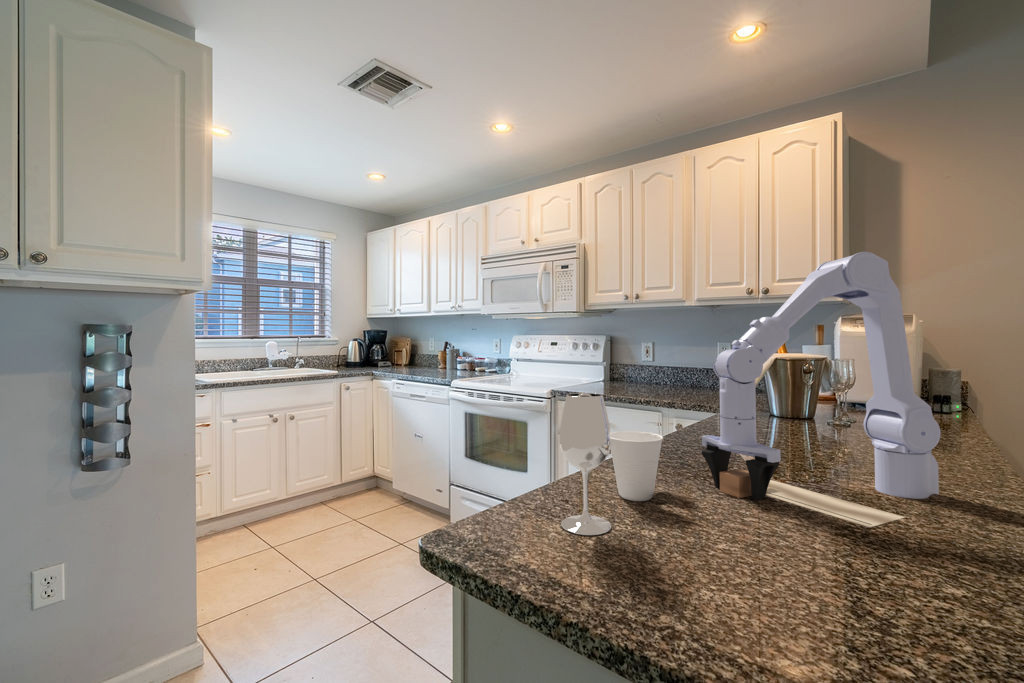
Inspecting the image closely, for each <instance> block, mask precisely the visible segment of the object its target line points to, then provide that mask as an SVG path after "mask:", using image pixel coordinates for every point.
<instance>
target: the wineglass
mask: <svg viewBox="0 0 1024 683" xmlns="http://www.w3.org/2000/svg"><path fill="white" fill-rule="evenodd" d="M611 433H612V432H611V427H610V423H609V417H608V411H607V406H606V404H605V400H604V396H603V394H601V393H591V392H575V393H574V392H573V393H567V394H566V397H565V401H564V405H563V411H562V417H561V421H560V427H559V439H558V440H559V448H560V451H561V454H562V455H563V457H564V458H565V460H566V461H567V462H568V463H569V464H570V465H571V466H573V467H574V468H576V469H579V470H580V472H581V474H582V485H583V487H582V488H583V491H582V493H583V494H582V496H583V510H582V514H578V515H577V514H576V515H571V516H568V517H566V518H564V519H563V520H562V521H561V523H560V525H561V528H563V529H564V530H565V531H567V532H569V533H571V534H575V535H581V536H598V535H603V534H606V533H607V532H610V531H611V529H612V524H611V522H610V521H608V520H607V519H606V518H603V517H600V516H596V515H591V514H590V511H589V476H590V471H591V470H593V469H594V470H595V469H596V468H597V467H600V466H601V464H603V463H604V462H605V461H606V459H607V458H608V456H609V455H610V453H611Z"/></svg>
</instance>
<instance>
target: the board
mask: <svg viewBox="0 0 1024 683" xmlns="http://www.w3.org/2000/svg"><path fill="white" fill-rule="evenodd" d="M765 496H768V497H771V498H773V499H777V500H781V501H784V502H786V503H790V504H793V505H796V506H799V507H803V508H806V509H809V510H811V511H815V512H818V513H821V514H825V515H829V516H831V517H835V518H838V519H840V520H844V521H847V522H850V523H853V524H856V525H860V526H864V527H867V528H872V527H878V526H880V525H885V524H888V523H891V522H894V521H897V520H901V519H905V518H906V516H903V515H900V514H896V513H891V512H888V511H885V510H882V509H878V508H874V507H871V506H867V505H863V504H859V503H855V502H852V501H850V500H849V501H848V500H845V499H841V498H837V497H834V496H831V495H827V494H823V493H819V492H817V491H816V492H815V491H813V490H809V489H805V488H802V487H798V486H794V485H792V484H787V483H784V482H780V481H777V480H772V479H771V480H770V482H769V485H768V488H767V492H766V495H765Z"/></svg>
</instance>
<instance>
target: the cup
mask: <svg viewBox="0 0 1024 683" xmlns="http://www.w3.org/2000/svg"><path fill="white" fill-rule="evenodd" d="M610 433H611V449H610V453H611V457H612V462H613V463H612V465H613V469H614V474H615V480H616V487H617V492H618V495H619V496H620V497H621V498H622V499H625V500H627V501H632V502H646V501H649V500H651V499H652V498H653V497H654V493H655V488H656V487H655V486H656V481H657V480H656V478H657V472H658V466H659V461H660V460H659V459H660V455H661V448H662V442H663V440H664V437H663V435H661V434H658V433H654V432H649V431H648V432H647V431H636V430H627V431H626V430H625V431H623V430H622V431H614V432H610Z"/></svg>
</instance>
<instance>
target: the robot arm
mask: <svg viewBox="0 0 1024 683" xmlns="http://www.w3.org/2000/svg"><path fill="white" fill-rule="evenodd" d="M900 293H901V292H900V290H899V289H898V287H897V285H896V284H895V282H894V280H893V279H892V277H891V274H890V269H889V261H888V260H886V259H884V258H882V257H881V256H879V255H876V254H875V253H873V252H870V251H861V252H857V253H855V254H853V255H849V256H846V257H842V258H839V259H835V260H829V261H825V262H823V263H821V264H819V265H818V266H817V267H816V268H815V270H813V271H812V272H810V273H809V274H808V275H807V277H806V278H805V280H803V281H802V283H801V284H800V285H799V287H797V289H796V290H795V291H794V292H793V293H792V294H791V295H790V297H789V298H788V299H787V300H786V301H784V303H783V304H782V305H781V306H780V308H779V309H778V310H777V311H775V313H774V314H773V315H772V316H763V317H760V318H759V319H753V320H752V321H751V322H750V323H749V326H750V328H749V329H748V330H747V331H746V332H744V334H743V335H742V336H741V337H740V338H739V339H734V340H733V341H732V342H731V343H730V344H731V348H730V349H726V350H725V349H724V350H723V351H722V352H720V353H719V354H718V355H717V357H716V359H715V360H716V361H715V363H714V364H713V365H712V367H713V369H712V370H713V371H714V373H715V375H716V376H717V377H718V379H719V430H720V431H719V434H720V436H716V435H713V434H712V435H710V434H706V435H705V434H704V435H701V446H702V447H706V448H705V449H702V450H701V455H702V456H703V458H704V460H705V461H706V463H707V465H708V468H709V470H710V472H711V476H712V477H711V478H712V480H713V483H714V487H715V488H717V489H720V472H722V471H729V463H730V458H731V454H732V453H736V454H740V455H742V456H743V455H744V456H747V457H752V459H747V460H745V465H746V467H747V471H749V475H750V480H751V496H750V497H751V499H752V500H753V501H756V502H757V501H761V500H766V496H767V495H766V492H767V488H768V485H769V482H770V480H772V477H773V476H774V474H775V472H776V471H777V469H778V468H779V467H780V462H782V461H781V460H782V459H781V452H782V451H781V449H779V448H774V447H771V446H768V445H764V444H762V443H759V442H757V403H756V402H757V399H756V397H757V396H756V394H757V393H756V379H758V378H760V377H761V376H762V373H763V370H764V364H765V363H766V362H767V361H768V360H769V359H770V358H771V357H773V355H775V353H776V352H778V350H780V348H781V347H782V346H784V344H785V343H786V342H787V341H789V339H790V328H791V327H793V326H794V325H795V324H796V323H797V322H798V321H799V320H800V319H801V318H802V317H804V316H805V315H807V313H808V312H809V311H811V309H813V308H814V307H815V306H817V304H819V303H820V302H821V301H822V300H823V299H825V298H828V297H833V298H834V297H835V298H838V299H843V300H846V301H848V302H850V303H851V304H853V305H855V306H856V307H859V308H861V313H862V317H863V318H862V319H863V325H864V332H865V340H866V341H865V342H866V347H867V352H868V354H867V355H868V360H869V368H870V374H871V381H872V382H871V383H872V390H873V395H872V396H871V397H870V398H869V400H867V402H866V403H865V408H866V410H865V411H866V412H865V417H864V419H863V423H862V424H863V429H864V433H865V435H867V437H868V438H870V439H871V445H873V447H874V489H875V490H876V491H877V492H879V493H882V494H885V495H889V496H892V497H898V498H906V499H913V500H914V499H915V500H917V499H919V500H923V499H928V498H929V497H930V496H932V495H940V491H939V490H940V488H939V485H940V484H939V480H940V479H939V478H940V477H939V463H938V461H937V459H936V458H935V455H933V454H932V450H933V449H934V448H935V447H937V445H938V443H939V442H940V439H941V428H940V425H939V423H938V422H937V420H936V419H935V417H934V415H933V412H932V406H930V404H928V403H927V402H926V401H925V400H924V399H922V398H921V397H920V396H919V395H917V394H916V393H915V389H914V381H913V375H912V368H911V361H910V354H909V347H908V346H909V345H908V340H907V333H906V326H905V320H904V319H905V318H904V313H903V304H902V297H901V294H900ZM753 458H754V459H753Z"/></svg>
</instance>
